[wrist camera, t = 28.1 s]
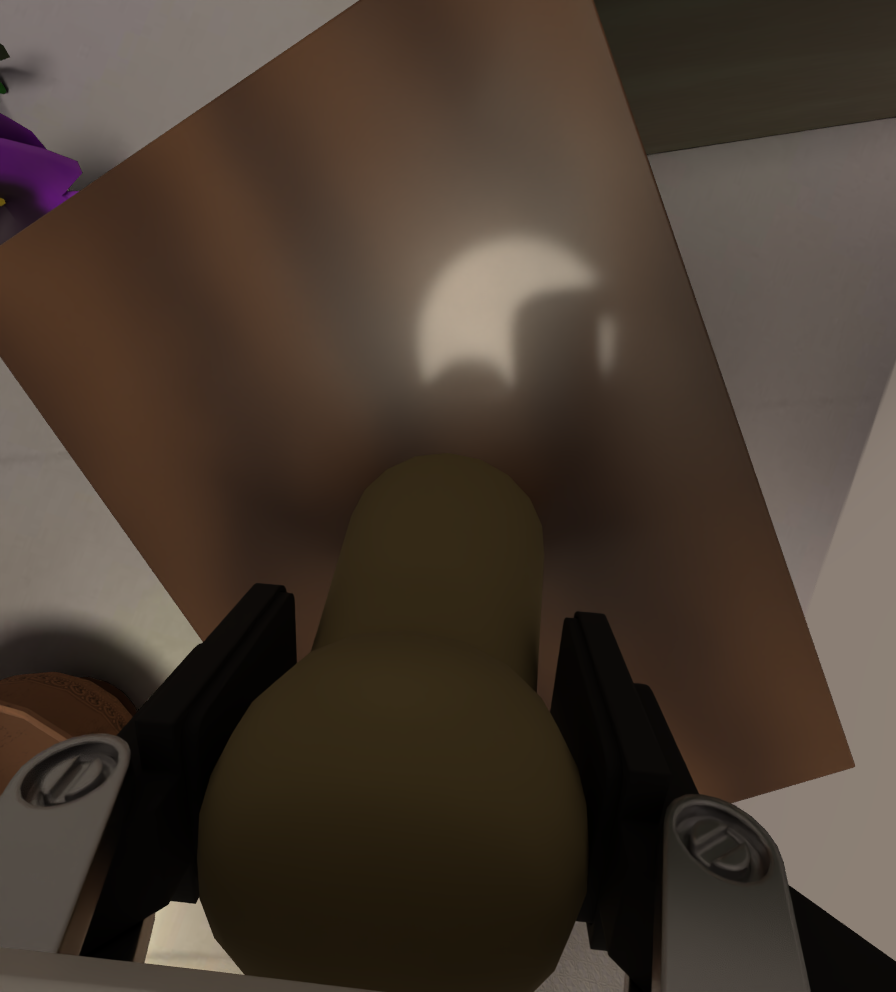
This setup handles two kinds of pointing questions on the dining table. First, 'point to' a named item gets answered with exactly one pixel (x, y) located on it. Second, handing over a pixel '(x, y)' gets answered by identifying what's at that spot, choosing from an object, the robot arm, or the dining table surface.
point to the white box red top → (583, 968)
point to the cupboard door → (750, 66)
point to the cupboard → (425, 354)
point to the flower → (29, 176)
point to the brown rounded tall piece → (406, 762)
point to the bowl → (54, 714)
